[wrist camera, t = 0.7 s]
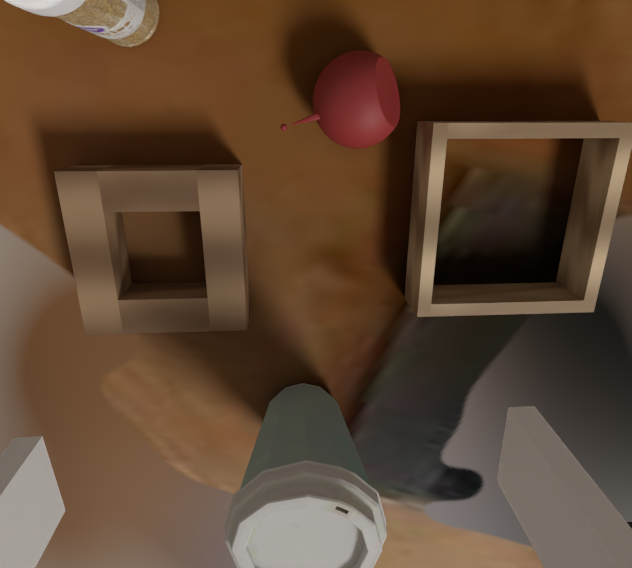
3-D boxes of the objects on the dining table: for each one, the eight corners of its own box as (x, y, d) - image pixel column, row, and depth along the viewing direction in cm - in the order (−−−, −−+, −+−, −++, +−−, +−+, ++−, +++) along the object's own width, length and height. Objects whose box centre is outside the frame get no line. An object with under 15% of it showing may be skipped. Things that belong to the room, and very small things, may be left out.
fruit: (319, 65, 35) (263, 75, 28) (392, 39, 32) (348, 45, 25) (340, 147, 37) (293, 174, 30) (410, 130, 34) (374, 156, 28)
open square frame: (417, 121, 34) (433, 122, 31) (600, 120, 35) (637, 122, 32) (404, 296, 39) (417, 316, 36) (564, 292, 40) (593, 312, 36)
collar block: (75, 165, 34) (53, 171, 31) (242, 164, 35) (237, 170, 31) (102, 315, 38) (85, 334, 35) (250, 311, 39) (246, 330, 36)
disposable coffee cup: (320, 472, 45) (336, 635, 31) (220, 430, 43) (189, 586, 29) (379, 390, 43) (426, 529, 29) (276, 339, 40) (271, 464, 26)
